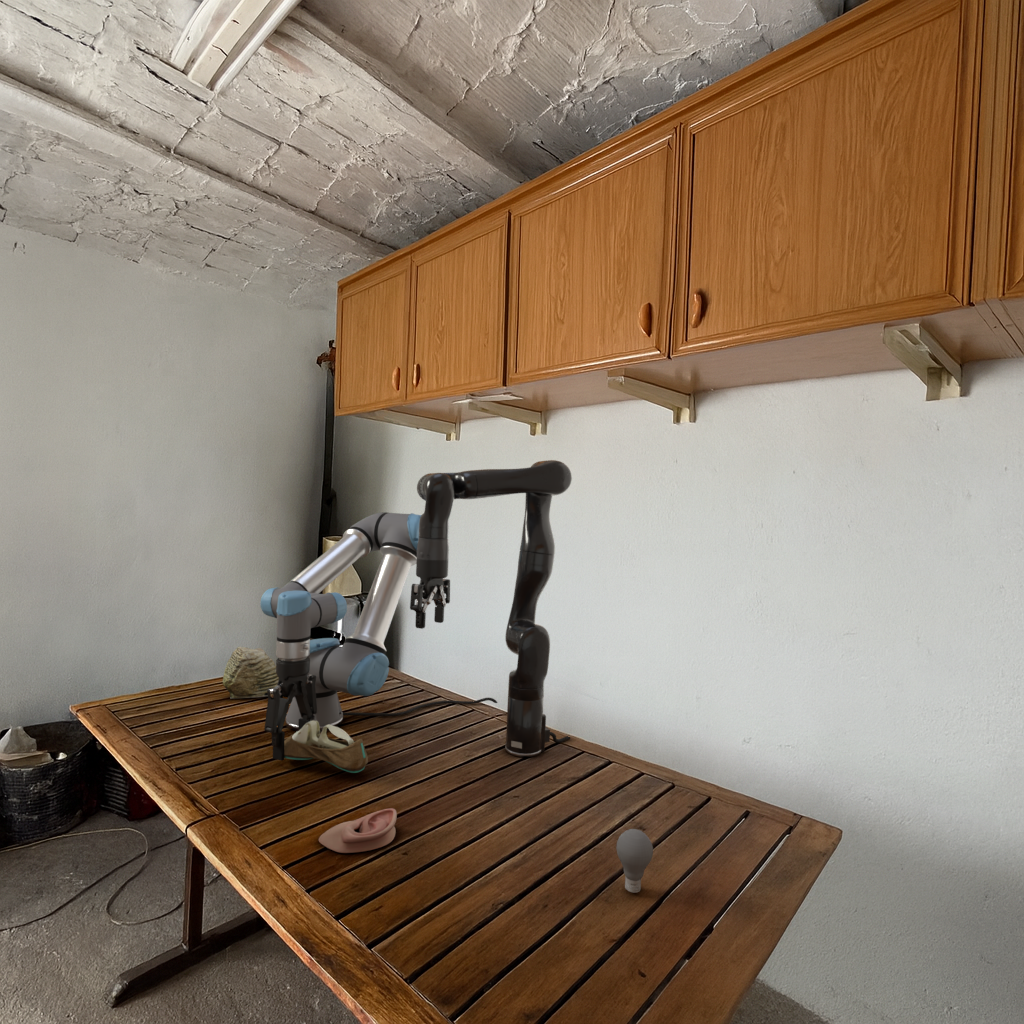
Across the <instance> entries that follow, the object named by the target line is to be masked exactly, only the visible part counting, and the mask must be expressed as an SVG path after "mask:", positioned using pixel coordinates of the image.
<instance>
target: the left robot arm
mask: <svg viewBox="0 0 1024 1024" xmlns="http://www.w3.org/2000/svg"><path fill="white" fill-rule="evenodd" d="M421 515H422V514H415V513H398V512H387V511H385V512H384V511H383V512H376V513H373V514H370V515H368V516H366V517H364V518H362V519H360V520H359V521H357V522H356V523H354V524H352V525H351V526H350V527H349V528H348V529H346V530H345V531H344V533H343V534H342V538H341V539H340V540H338V541H337V542H336V543H335V544H334V545H332V546H331V547H330V548H328V550H326V551H325V552H324V553H322V554H321V555H320V556H319V557H318V558H316V559H314V561H313V562H311V563H310V564H309V565H308V566H307V567H305V568H304V569H303V570H302V571H301V572H299V573H298V574H297V575H295V576H294V577H293V578H292V579H291V580H289V581H288V582H287V583H286V584H284V585H283V586H282V587H271V588H268V589H267V590H265V591H264V592H263V594H262V596H261V597H260V603H259V604H260V609H261V611H262V613H263V614H264V615H266V616H268V617H271V618H274V619H276V646H275V648H276V649H275V651H276V652H275V656H276V659H275V662H276V663H275V665H276V674H277V675H278V677H279V680H278V683H277V686H276V687H274V688H268V690H267V694H268V696H267V705H266V712H265V723H264V727H263V728H264V729H263V731H264V732H266V733H270V734H271V747H272V759H274V760H277V761H281V762H282V761H284V760H285V758H284V741H285V740H286V738H285V737H286V735H285V732H286V731H283V728H284V725H285V726H286V728H287V729H289V730H291V731H294V732H295V731H296V732H297V731H299V730H300V729H301V728H302V727H303V726H304V725H305V724H306V723H308V722H310V721H313V720H314V721H318V723H319V727H320V732H322V730H323V728H324V726H326V725H328V724H330V725H332V726H335V727H339V726H340V725H342V723H343V722H344V717H347V716H349V717H351V716H353V717H354V716H355V717H356V716H357V717H358V716H359V717H399V716H404V715H407V714H410V713H412V712H414V711H416V710H420V709H423V708H427V707H431V706H436V705H444V704H454V705H455V704H456V705H476V704H479V703H482V702H486V701H490V702H493V703H494V704H498V701H497V700H496V698H493V697H484V698H480V699H477V700H468V701H467V700H438V701H432V702H431V701H430V702H428V703H423V704H420V705H416V706H413V707H412V708H410V709H407V710H404V711H400V712H388V713H387V712H386V713H385V712H347V711H345V712H343V709H342V706H341V702H340V699H339V695H338V692H341V693H345V694H349V695H352V696H356V697H357V696H361V697H370V696H372V695H373V696H374V694H375V693H377V692H379V691H380V690H381V688H382V687H383V686H384V684H385V683H386V681H387V678H388V675H389V672H390V667H389V666H390V661H389V658H388V656H387V648H386V647H385V640H386V638H387V635H388V632H389V629H390V627H391V623H392V621H393V618H394V615H395V612H396V609H397V606H398V603H399V601H400V598H401V595H402V592H403V590H404V587H405V583H406V581H407V579H408V575H409V573H410V569H411V567H413V566H414V565H415V566H416V562H417V545H418V539H419V521H420V517H421ZM377 551H379V553H380V554H381V556H382V557H381V560H380V563H379V566H378V567H377V571H376V573H375V576H374V579H373V581H372V584H371V588H370V589H369V592H368V594H367V597H366V600H365V603H364V605H363V608H362V611H361V613H360V616H359V618H358V620H357V624H356V626H355V628H354V632H353V634H350V635H349V636H347V637H345V640H344V642H343V645H342V646H341V645H340V644H341V643H340V640H339V638H335V637H322V638H313V639H311V629H314V628H318V627H323V626H326V625H332V624H334V623H336V622H339V621H341V620H342V619H344V617H345V616H346V615H347V611H348V603H347V601H346V599H345V597H344V596H343V595H342V594H341V593H340V592H336V591H335V592H327V593H321V592H322V591H324V590H325V589H326V588H327V587H328V586H329V585H330V584H332V583H333V582H334V581H335V580H336V579H338V577H339V576H341V574H343V573H344V572H346V571H347V569H348V568H350V567H351V566H352V565H353V564H354V563H355V562H356V561H357V560H359V559H360V558H365V557H367V556H368V555H370V553H372V552H373V553H374V552H377ZM473 701H474V702H473ZM327 731H330V730H329V729H328V728H327Z"/></svg>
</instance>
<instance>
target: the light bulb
mask: <svg viewBox="0 0 1024 1024" xmlns="http://www.w3.org/2000/svg"><path fill="white" fill-rule="evenodd" d="M615 849H616V854H617V857H618V859H619V861H620V863H621V865H622V867H623V873H624V874H623V875H624V876H625V878H624V888H625V890H627V891H628V892H630V893H634V894H635V893H639V892H640V891H641V889H642V887H641V886H642V879H643V877H644V875H645V871H646V868H647V867H648V866H649V864H650V863H651V861H652V859H653V855H654V847H653V843H652V841H651V838H649V836H648V835H647V834H646V833H645V832H643V831H642V830H641V829H636V828H629V829H627V830H625V831H623V832H622V833H621V834H620V835H619V837H618V839H617V841H616V847H615Z"/></svg>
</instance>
